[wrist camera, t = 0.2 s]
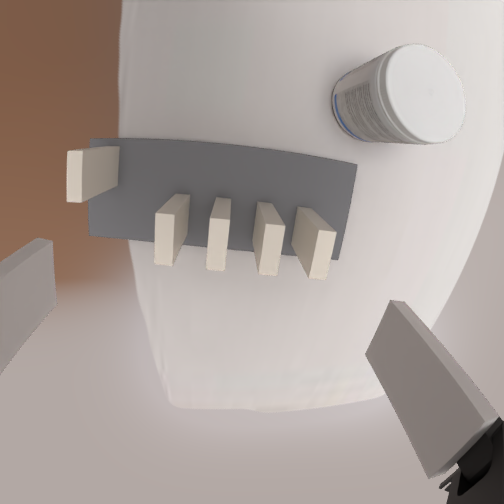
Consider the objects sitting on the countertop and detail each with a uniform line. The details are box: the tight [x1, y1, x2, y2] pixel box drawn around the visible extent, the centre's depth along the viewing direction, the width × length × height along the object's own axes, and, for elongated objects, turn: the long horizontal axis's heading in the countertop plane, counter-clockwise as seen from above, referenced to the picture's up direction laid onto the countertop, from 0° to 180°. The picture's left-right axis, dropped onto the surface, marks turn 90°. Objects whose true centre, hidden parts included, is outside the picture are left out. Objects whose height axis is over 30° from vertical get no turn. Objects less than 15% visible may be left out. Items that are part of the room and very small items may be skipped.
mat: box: [88, 138, 357, 260], centre depth 36 cm, size 13×34×1 cm, turn 83°
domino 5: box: [291, 207, 337, 280], centre depth 33 cm, size 5×2×10 cm, turn 173°
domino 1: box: [67, 146, 120, 203], centre depth 29 cm, size 5×2×10 cm, turn 173°
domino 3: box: [206, 197, 231, 271], centre depth 32 cm, size 5×2×10 cm, turn 173°
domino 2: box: [154, 194, 190, 266], centre depth 32 cm, size 5×2×10 cm, turn 173°
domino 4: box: [252, 202, 285, 276], centre depth 33 cm, size 5×2×10 cm, turn 173°
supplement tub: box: [332, 44, 466, 145], centre depth 26 cm, size 10×10×15 cm
